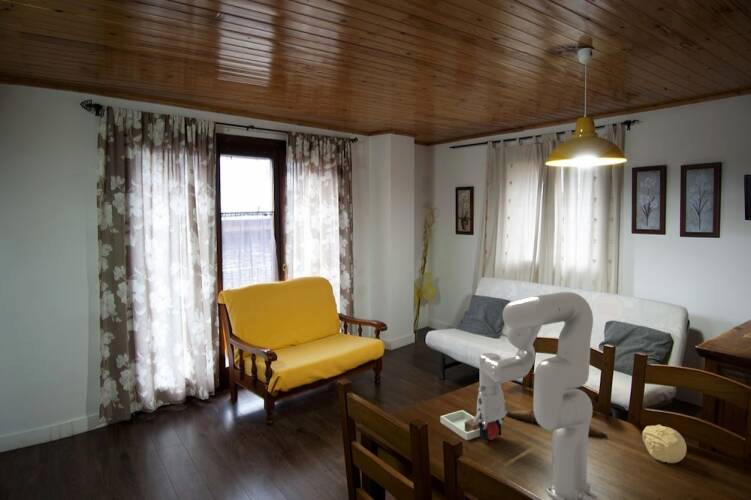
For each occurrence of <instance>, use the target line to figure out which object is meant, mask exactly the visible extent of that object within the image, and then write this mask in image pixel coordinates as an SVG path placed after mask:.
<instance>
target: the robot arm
mask: <svg viewBox="0 0 751 500" xmlns="http://www.w3.org/2000/svg"><path fill="white" fill-rule="evenodd" d="M593 316H594V315H593V311H592V308H591V306H590V304H589V303H588V301H587V300H586V299H585V298H584V297H583V296H581V295H579V294H578V293H575V292H571V291H569V292H568V291H563V292H554V293H548V294H541V295H536V296H531V297H526V298H523V299H519V300H514V301H510V302H508V303H507V304H506V305H505V306H504V308H503V311H502V320H503V323H504V325H505V326H506V327H507V328H508V329H509V330H508V332H507V334H506V336H507V340H508V342H509V343H510V344H511V345H512V346H513V347H515V348H516V349H518V350H517V352H516V354H515V355H514V356H513V357H508V358H503V359H502V358H501V356H500V355H499V354H498V353H494V352H486V353H482V354H480V356H479V387H478V389H477V390H478V395H477V401H476V415H475V416H474V417H475V418H474V419H473V422H475V423H476V424H477V425H478V426H479V427H480V436H479V437H480V438H481V439H483V440H484V441H487V440H488V438H487V429H486V426H487V423H489V422H494V423H495V424H496V425H497V426H498V429H499V434H498V436H502V425H503V423H504V422H503V421H504V419H505V417H506V416H507V415H506V414H507V412H508V411H507V409H506V402H505V397H504V395H505V394H504V391H503V389H502V384H504V383H508V382H512V381H514V380H515V381H517V380H520V379H523V378H525V377H526V376H528V374H529V372H530V371H531V369H532V367H533V365H534V363H535V362H536V361H535V360H536V351H535V347H534V342H535V341H536V339H537V337H538V335H539V333H540V331H541V330H542V327H543V326H547V325H551V324H558V323H561V322H563V323H564V324H563V326H562V329H561V331H560V333H559V335H558V339H557V341H558V342H557V352H556V355H555V356H554V357H548V358H545V359H543V360H541V361H540V362H539V363H538V364H537V366H536V368H535V370H534V371H535V372H534V376H533V378H534V379H533V398H532V399H533V400H532V405H533V410H532V411H534V415H535V418H536V420H537V422H538V424H537V425H539V426H540V427H541V428H542V429H544V430H546V431H552V443H551V445H552V447H551V448H552V449H551V450H552V451H551V452H552V453H551V456H552V457H551V478H550V479H549V480H547V482H546V484H545V489H546V492H547V494H548V495H549V496H550V497H551V499H553V500H598V495H597V494H595V493H594V492H592V491H591V489H590V488H591V484H590V483H589V482H587V481H588V480H587V478H588V475H587V474H588V451H589V450H588V448H589V447H588V446H589V435H588V432H589V426H590V425H591V422H592V418H593V417H592V416H593V404H592V399H591V398H590V397H589V396H588V394H587V393H586V392H585V391H583V390H581V389H578V388H580V387H582V386H584V385H586V383H587V382H588V380H589V374H590V363H591V362H590V360H591V341H592V340H591V339H592V332H593V326H594V325H593V324H594V317H593ZM479 420H480V421H479ZM483 422H484V424H482V423H483Z"/></svg>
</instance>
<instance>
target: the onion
mask: <svg viewBox="0 0 751 500" xmlns="http://www.w3.org/2000/svg"><path fill="white" fill-rule="evenodd" d="M494 422H495V421H493V422H489V423H487V426H486V429H487V440H489V441H493V440H495V439H496V438H497V437H498V436H499V435H498V434H499V429H498V426H497V425H496V424H495V423H494Z"/></svg>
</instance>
